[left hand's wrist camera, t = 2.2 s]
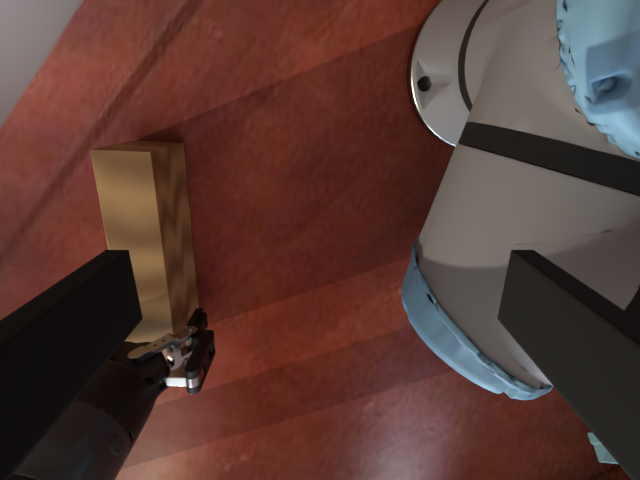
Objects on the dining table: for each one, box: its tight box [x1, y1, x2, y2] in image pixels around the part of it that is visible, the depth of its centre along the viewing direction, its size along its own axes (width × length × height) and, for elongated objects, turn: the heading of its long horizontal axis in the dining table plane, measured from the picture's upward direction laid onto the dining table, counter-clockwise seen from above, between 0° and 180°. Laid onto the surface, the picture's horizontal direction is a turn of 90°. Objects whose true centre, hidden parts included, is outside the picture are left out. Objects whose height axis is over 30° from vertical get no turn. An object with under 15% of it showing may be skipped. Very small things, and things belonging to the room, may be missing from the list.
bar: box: [90, 141, 199, 360], centre depth 37 cm, size 23×5×8 cm, turn 178°
